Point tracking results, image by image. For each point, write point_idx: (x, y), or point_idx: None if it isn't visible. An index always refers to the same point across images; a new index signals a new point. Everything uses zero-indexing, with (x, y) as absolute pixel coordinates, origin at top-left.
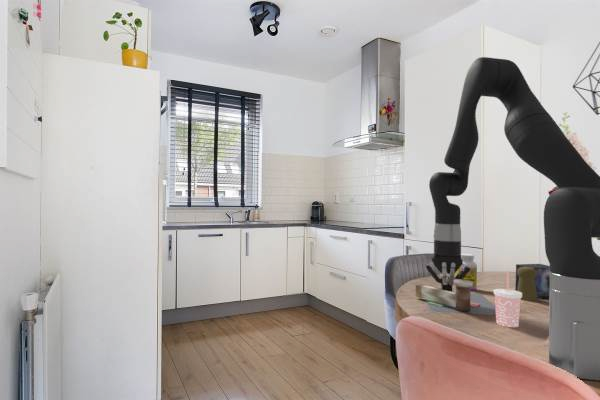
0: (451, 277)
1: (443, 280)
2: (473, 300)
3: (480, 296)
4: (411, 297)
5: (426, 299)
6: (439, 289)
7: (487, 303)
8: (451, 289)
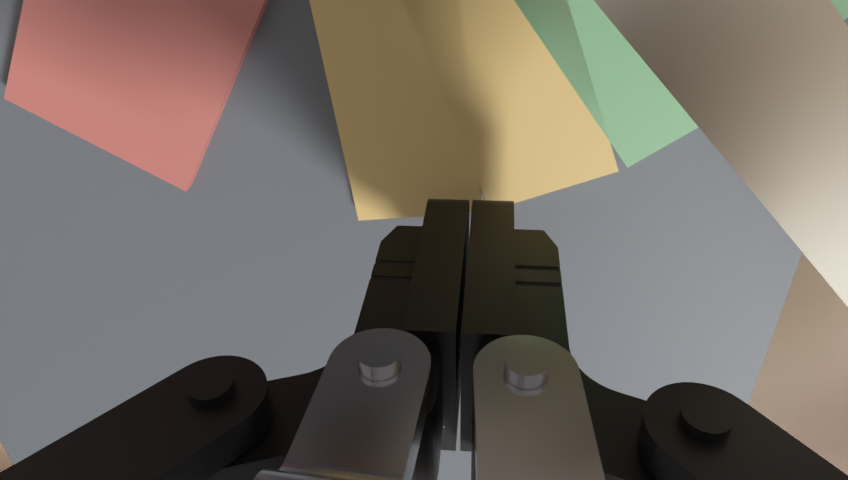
0: (335, 478)
1: (566, 422)
2: (108, 296)
3: None
4: (843, 433)
5: (781, 231)
6: (745, 71)
7: None
8: (382, 293)
